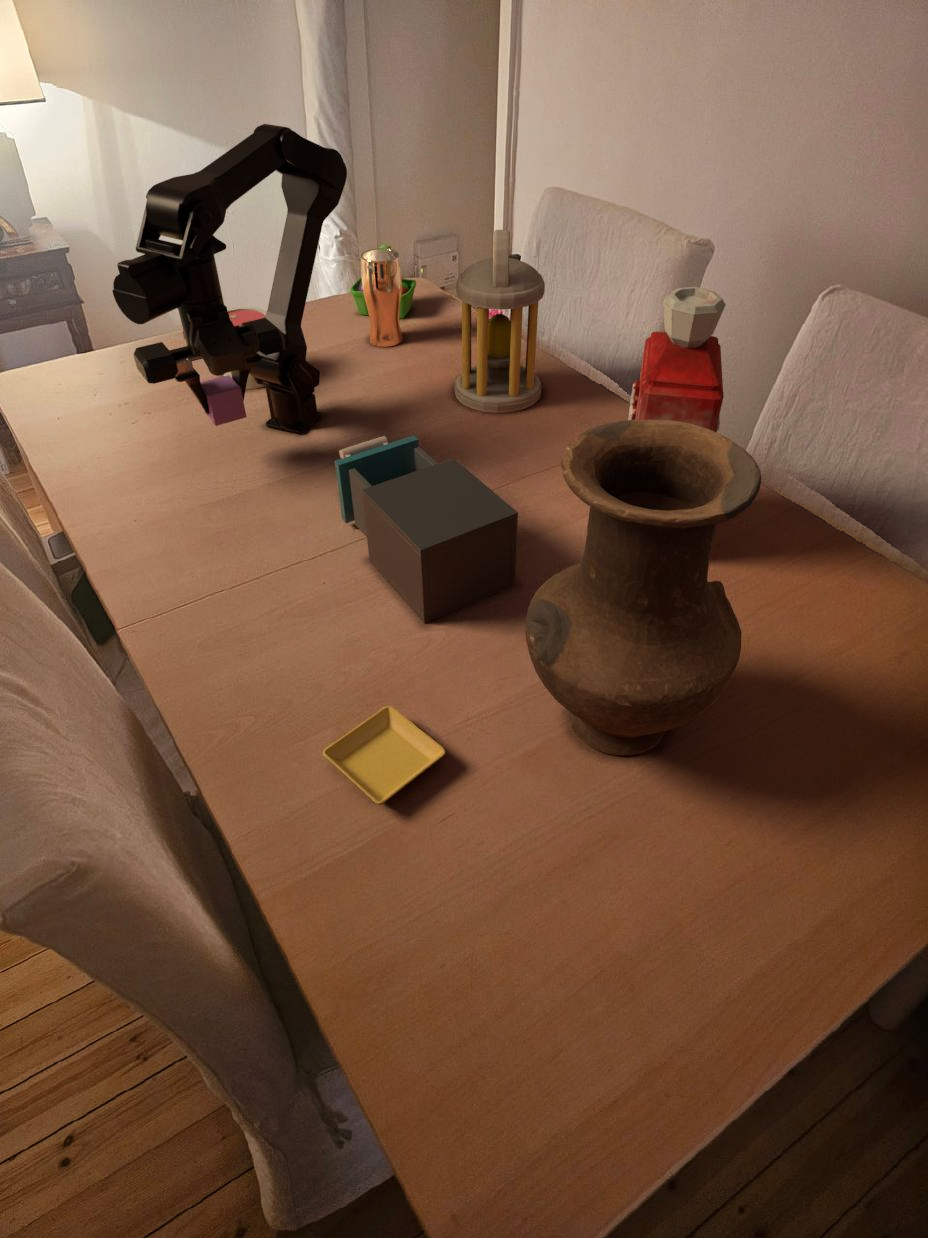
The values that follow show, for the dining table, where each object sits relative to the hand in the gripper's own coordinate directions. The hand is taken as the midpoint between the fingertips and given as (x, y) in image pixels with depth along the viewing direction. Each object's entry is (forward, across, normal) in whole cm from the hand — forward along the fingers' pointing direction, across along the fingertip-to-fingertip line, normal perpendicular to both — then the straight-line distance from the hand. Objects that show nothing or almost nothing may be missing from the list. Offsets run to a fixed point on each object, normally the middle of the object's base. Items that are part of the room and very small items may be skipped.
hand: (223, 408), depth 114 cm
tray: (+7, +12, -27) cm, 30 cm away
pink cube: (+1, 0, 0) cm, 1 cm away
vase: (+9, +15, -68) cm, 70 cm away
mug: (+8, +12, +22) cm, 26 cm away
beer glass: (+8, +38, +24) cm, 46 cm away
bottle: (+9, +40, -45) cm, 61 cm away
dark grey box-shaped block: (+8, +12, -38) cm, 41 cm away
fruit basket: (+8, +44, +36) cm, 58 cm away
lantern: (+8, +44, -3) cm, 45 cm away
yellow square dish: (+9, -8, -60) cm, 61 cm away
